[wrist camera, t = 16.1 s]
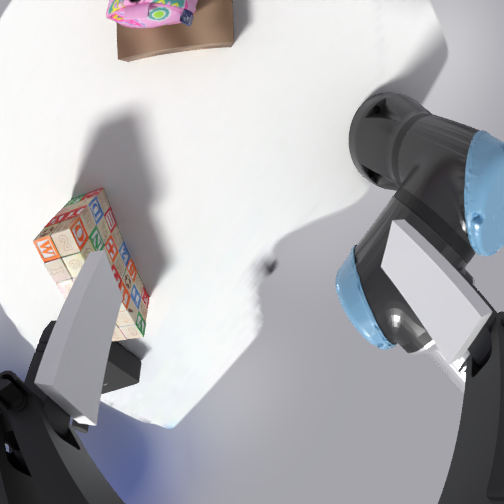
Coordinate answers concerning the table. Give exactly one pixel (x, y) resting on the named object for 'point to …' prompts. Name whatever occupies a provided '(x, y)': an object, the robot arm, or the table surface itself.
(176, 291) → the table surface
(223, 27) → the walnut riser
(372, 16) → the table surface
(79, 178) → the table surface
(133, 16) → the pencil case
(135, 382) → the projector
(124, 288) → the stack of blocks
